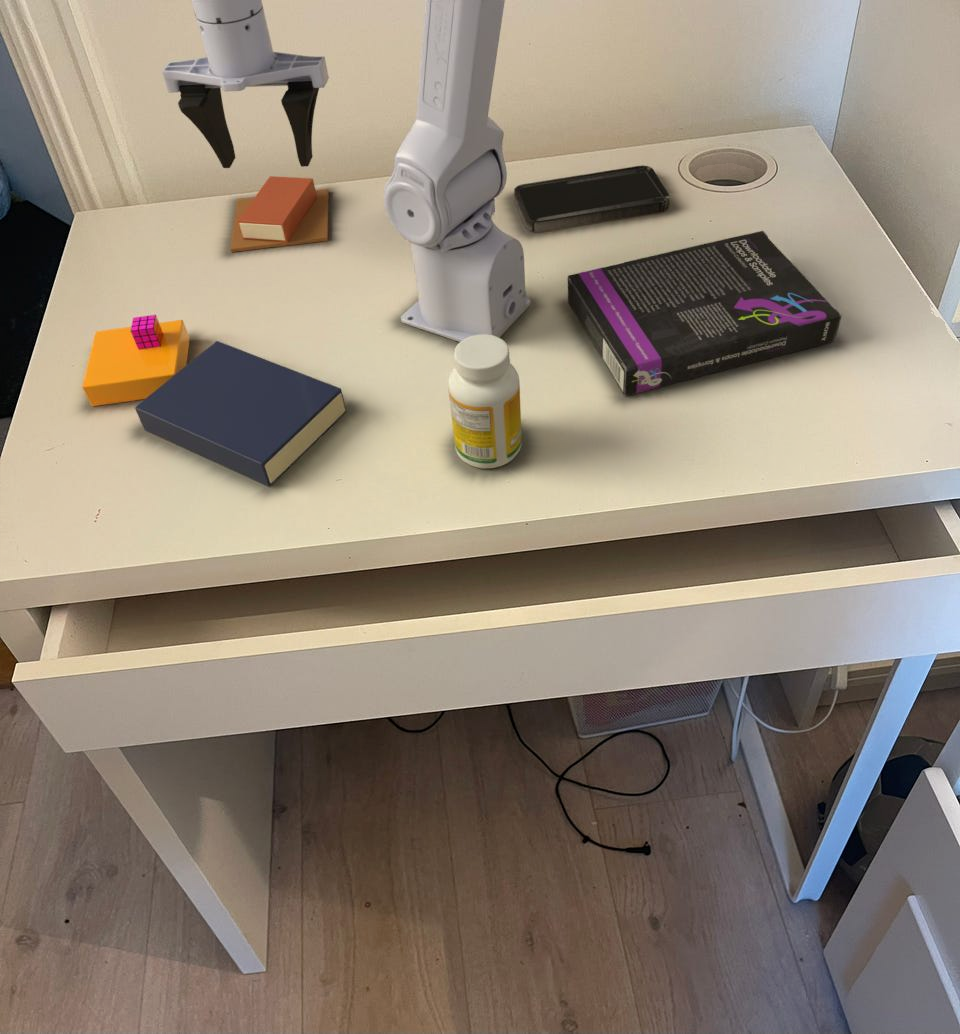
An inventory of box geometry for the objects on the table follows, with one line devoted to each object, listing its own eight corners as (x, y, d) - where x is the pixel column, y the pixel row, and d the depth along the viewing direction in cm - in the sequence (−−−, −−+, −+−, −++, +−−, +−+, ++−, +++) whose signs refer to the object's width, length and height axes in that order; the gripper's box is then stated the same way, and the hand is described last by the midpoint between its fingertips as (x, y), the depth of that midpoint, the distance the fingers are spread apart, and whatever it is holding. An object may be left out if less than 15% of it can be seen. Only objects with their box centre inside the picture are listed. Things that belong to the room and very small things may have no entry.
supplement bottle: (470, 479, 74) (459, 383, 66) (445, 436, 77) (432, 341, 70) (533, 457, 75) (529, 360, 68) (506, 416, 78) (500, 320, 71)
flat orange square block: (183, 394, 83) (167, 355, 80) (91, 407, 83) (72, 368, 80) (190, 338, 88) (175, 300, 85) (103, 350, 88) (86, 312, 85)
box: (622, 402, 79) (837, 344, 81) (624, 369, 76) (846, 311, 79) (566, 306, 88) (761, 257, 90) (565, 274, 85) (766, 224, 88)
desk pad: (328, 191, 105) (327, 188, 105) (327, 240, 98) (327, 237, 98) (238, 202, 105) (237, 199, 104) (231, 252, 98) (230, 248, 98)
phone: (672, 200, 96) (527, 223, 95) (671, 210, 97) (527, 233, 96) (649, 163, 101) (511, 185, 100) (649, 173, 102) (512, 194, 101)
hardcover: (348, 412, 80) (342, 388, 78) (270, 488, 75) (262, 464, 73) (224, 363, 86) (216, 340, 84) (144, 430, 80) (133, 407, 78)
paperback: (287, 243, 98) (282, 223, 96) (242, 240, 99) (236, 221, 97) (317, 197, 103) (313, 178, 102) (274, 194, 104) (269, 176, 103)
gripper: (132, 33, 79) (182, 184, 89) (301, 26, 77) (333, 182, 87) (159, 0, 84) (204, 148, 94) (319, -7, 82) (348, 144, 92)
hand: (267, 162), depth 91 cm, fingers open, 7 cm apart
